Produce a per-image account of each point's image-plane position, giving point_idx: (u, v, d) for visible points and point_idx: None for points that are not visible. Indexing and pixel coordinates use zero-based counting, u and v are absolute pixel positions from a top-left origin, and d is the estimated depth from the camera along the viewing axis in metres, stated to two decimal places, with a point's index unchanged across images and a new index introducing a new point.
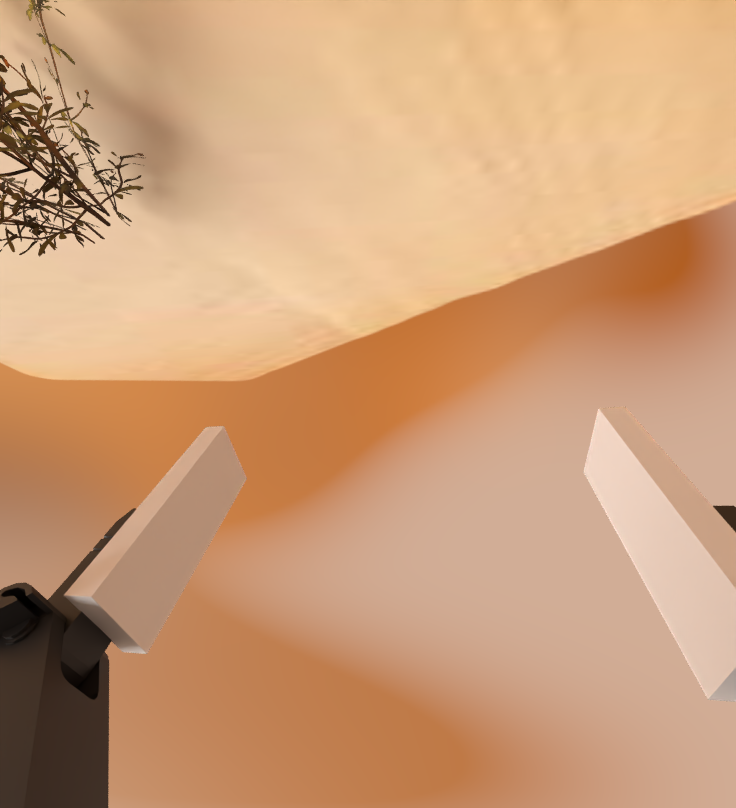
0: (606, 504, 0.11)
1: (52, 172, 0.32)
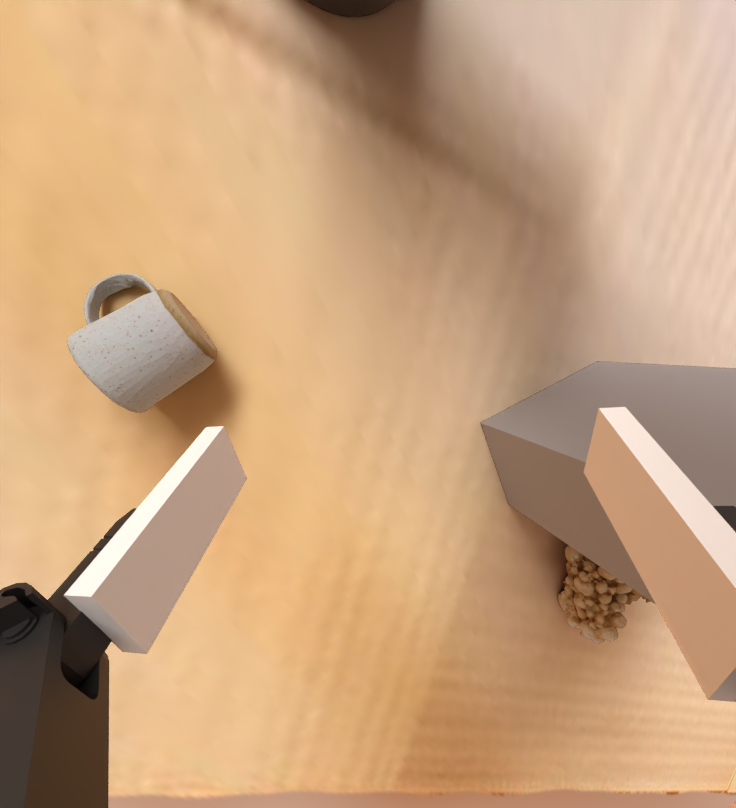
0: (606, 504, 0.11)
1: None
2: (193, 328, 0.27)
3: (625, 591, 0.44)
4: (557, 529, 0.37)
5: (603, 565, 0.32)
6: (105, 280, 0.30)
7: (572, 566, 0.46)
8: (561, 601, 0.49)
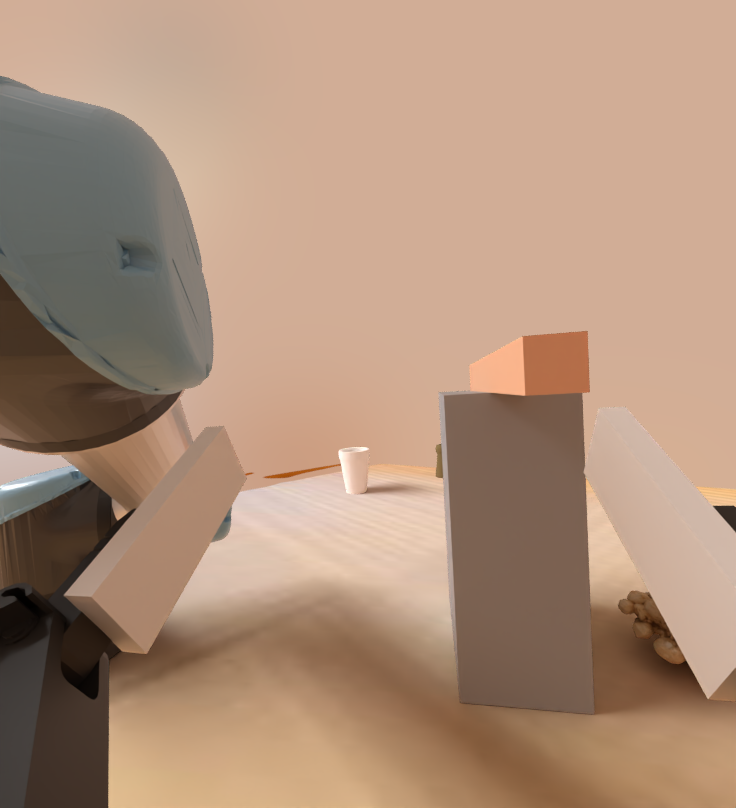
0: (606, 504, 0.11)
1: None
2: None
3: None
4: (575, 622, 0.33)
5: (582, 566, 0.32)
6: None
7: None
8: None
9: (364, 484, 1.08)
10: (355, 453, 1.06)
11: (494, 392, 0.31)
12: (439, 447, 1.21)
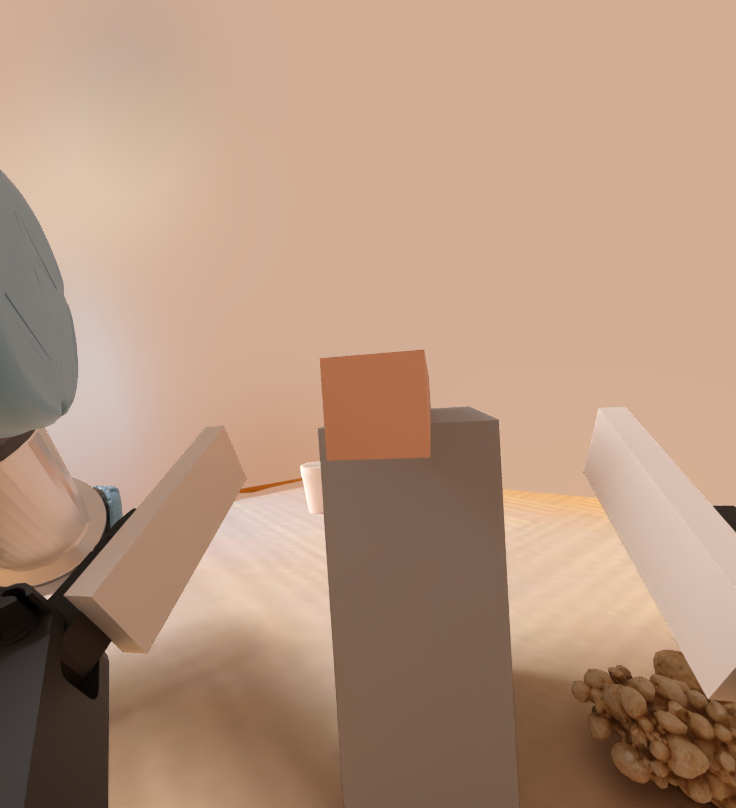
0: (606, 504, 0.11)
1: None
2: None
3: (673, 687, 0.29)
4: (495, 743, 0.24)
5: (504, 667, 0.23)
6: None
7: (652, 771, 0.26)
8: None
9: None
10: (317, 468, 0.97)
11: None
12: None
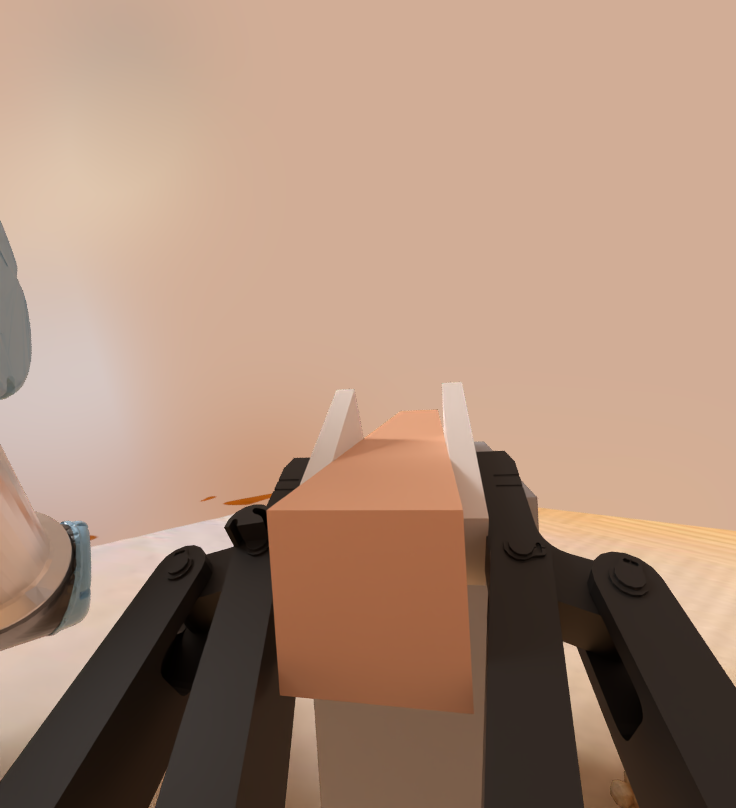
0: None
1: None
2: None
3: None
4: None
5: None
6: None
7: None
8: None
9: None
10: None
11: None
12: None
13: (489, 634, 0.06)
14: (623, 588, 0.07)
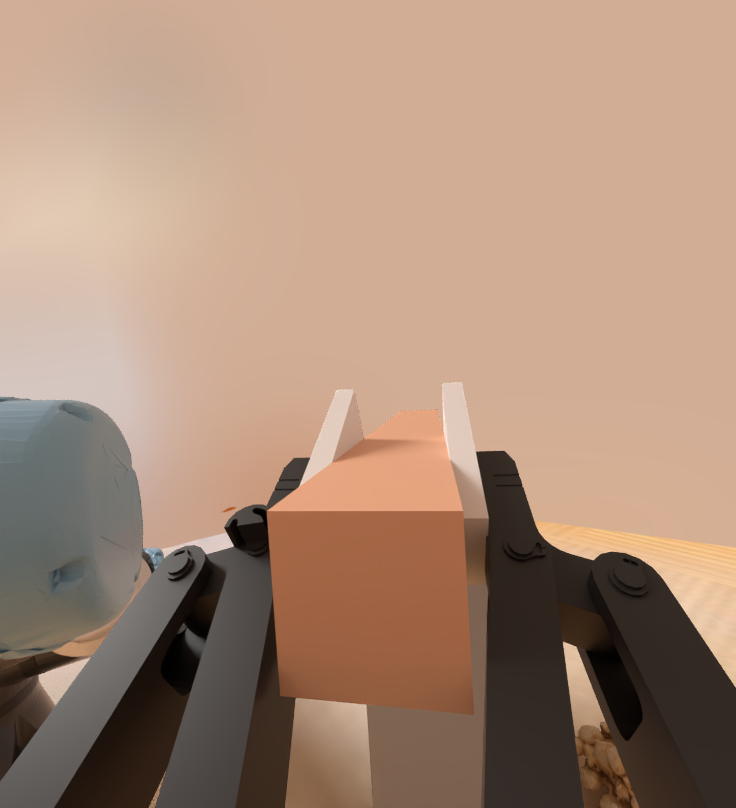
0: None
1: None
2: None
3: None
4: None
5: None
6: None
7: None
8: None
9: None
10: None
11: None
12: None
13: (489, 634, 0.06)
14: (622, 588, 0.07)
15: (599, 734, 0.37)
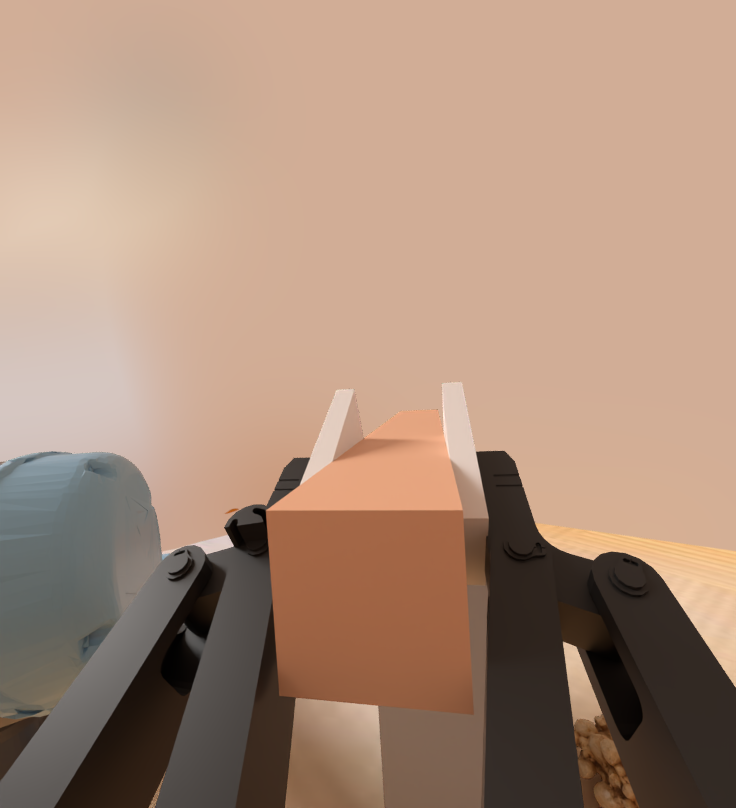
0: None
1: None
2: None
3: None
4: None
5: None
6: None
7: (624, 806, 0.34)
8: None
9: None
10: None
11: None
12: None
13: (489, 634, 0.06)
14: (622, 588, 0.07)
15: (593, 727, 0.40)
